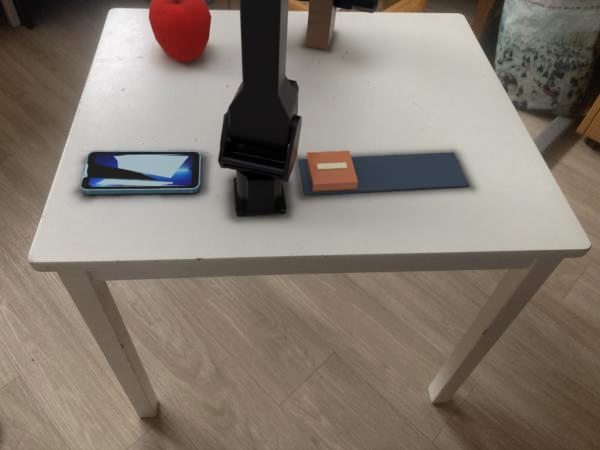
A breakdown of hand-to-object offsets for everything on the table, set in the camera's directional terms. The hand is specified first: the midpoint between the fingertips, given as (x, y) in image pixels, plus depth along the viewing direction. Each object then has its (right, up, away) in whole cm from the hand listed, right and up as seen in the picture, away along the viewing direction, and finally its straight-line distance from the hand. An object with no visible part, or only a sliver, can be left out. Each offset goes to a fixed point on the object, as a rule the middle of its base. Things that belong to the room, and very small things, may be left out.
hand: (325, 0), depth 84 cm
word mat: (+7, -32, -16) cm, 36 cm away
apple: (-24, -10, -1) cm, 26 cm away
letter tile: (0, -32, -18) cm, 37 cm away
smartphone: (-25, -32, -19) cm, 45 cm away
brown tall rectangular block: (-1, -5, +4) cm, 7 cm away
